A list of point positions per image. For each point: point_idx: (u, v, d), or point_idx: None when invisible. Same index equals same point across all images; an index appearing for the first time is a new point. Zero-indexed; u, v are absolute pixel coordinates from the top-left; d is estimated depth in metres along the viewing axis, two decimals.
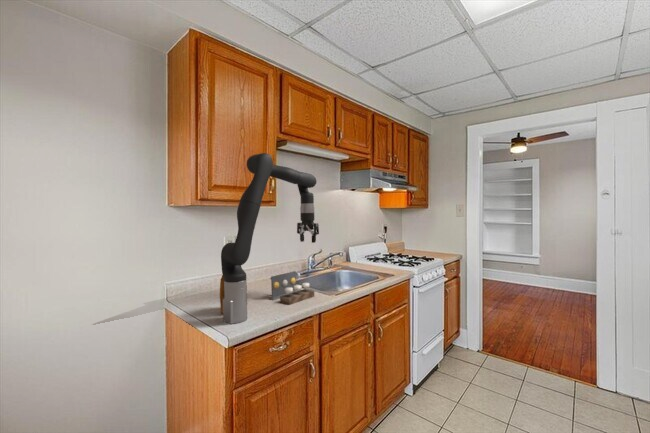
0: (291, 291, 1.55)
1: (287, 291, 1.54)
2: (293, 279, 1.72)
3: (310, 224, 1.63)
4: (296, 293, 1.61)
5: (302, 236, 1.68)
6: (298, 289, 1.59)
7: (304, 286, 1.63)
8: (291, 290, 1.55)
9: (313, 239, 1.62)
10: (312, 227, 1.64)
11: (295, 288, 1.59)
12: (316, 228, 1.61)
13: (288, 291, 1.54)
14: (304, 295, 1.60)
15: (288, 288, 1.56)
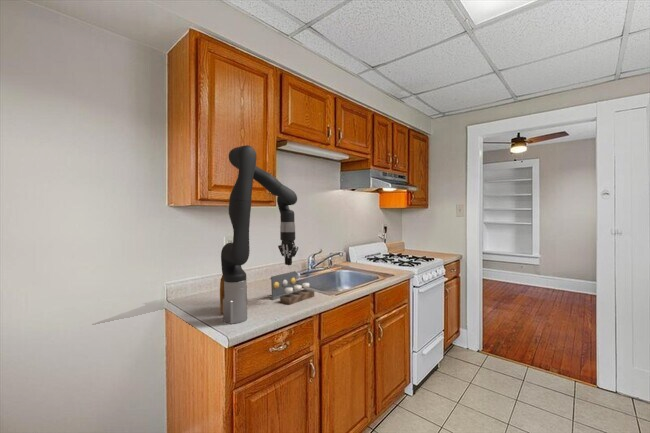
0: (291, 291, 1.55)
1: (287, 291, 1.54)
2: (293, 279, 1.72)
3: (290, 244, 1.53)
4: (296, 293, 1.61)
5: None
6: (298, 289, 1.59)
7: (304, 286, 1.63)
8: (291, 290, 1.55)
9: (289, 262, 1.54)
10: (291, 249, 1.54)
11: (295, 288, 1.59)
12: (294, 252, 1.52)
13: (288, 291, 1.54)
14: (304, 295, 1.60)
15: (288, 288, 1.56)
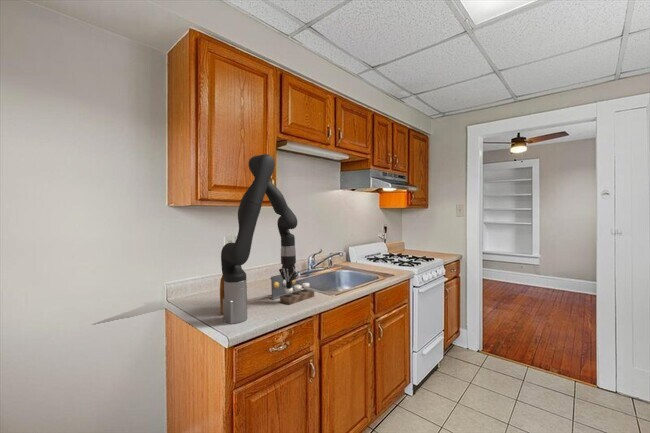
0: (291, 291, 1.55)
1: (287, 291, 1.54)
2: None
3: (291, 268, 1.53)
4: (296, 293, 1.61)
5: None
6: (298, 289, 1.59)
7: (304, 286, 1.63)
8: (291, 291, 1.55)
9: (289, 285, 1.55)
10: None
11: (295, 288, 1.59)
12: (294, 276, 1.53)
13: (288, 291, 1.54)
14: (304, 295, 1.60)
15: None
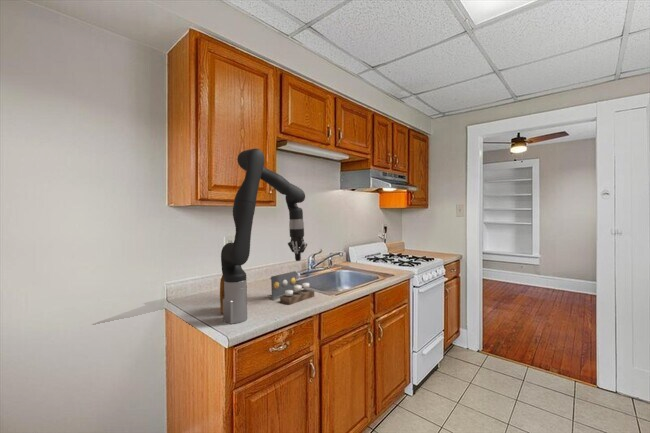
0: (291, 294, 1.55)
1: (287, 294, 1.54)
2: (293, 279, 1.72)
3: (300, 241, 1.57)
4: (296, 293, 1.61)
5: None
6: (298, 289, 1.59)
7: (304, 286, 1.63)
8: (291, 293, 1.55)
9: (298, 257, 1.60)
10: None
11: (295, 288, 1.59)
12: (303, 248, 1.57)
13: (288, 294, 1.54)
14: (304, 295, 1.60)
15: (288, 291, 1.56)
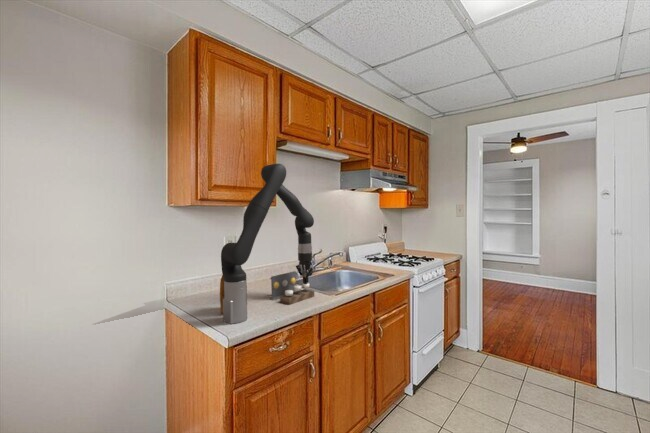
0: (291, 294, 1.55)
1: (287, 294, 1.54)
2: (293, 279, 1.72)
3: (308, 264, 1.62)
4: (296, 293, 1.61)
5: None
6: (298, 289, 1.59)
7: (304, 286, 1.63)
8: (291, 293, 1.55)
9: (306, 280, 1.64)
10: None
11: (295, 288, 1.59)
12: (311, 272, 1.62)
13: (288, 294, 1.54)
14: (304, 295, 1.60)
15: (288, 291, 1.56)
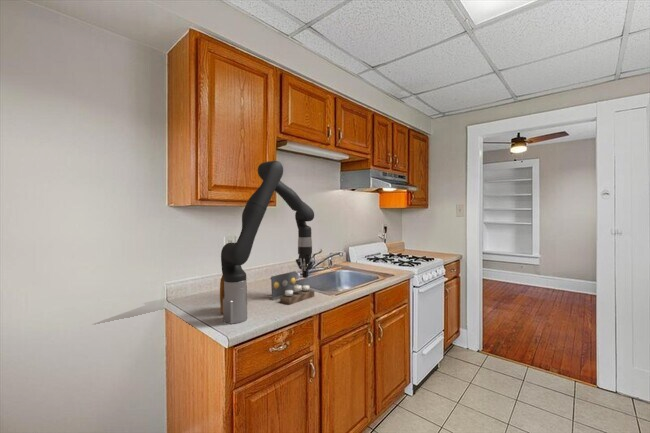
0: (291, 294, 1.55)
1: (287, 294, 1.54)
2: (293, 279, 1.72)
3: (307, 258, 1.62)
4: (296, 293, 1.61)
5: None
6: (298, 289, 1.59)
7: (304, 288, 1.63)
8: (291, 293, 1.55)
9: (305, 274, 1.64)
10: None
11: (295, 288, 1.59)
12: (310, 266, 1.61)
13: (288, 294, 1.54)
14: (304, 295, 1.60)
15: (288, 291, 1.56)
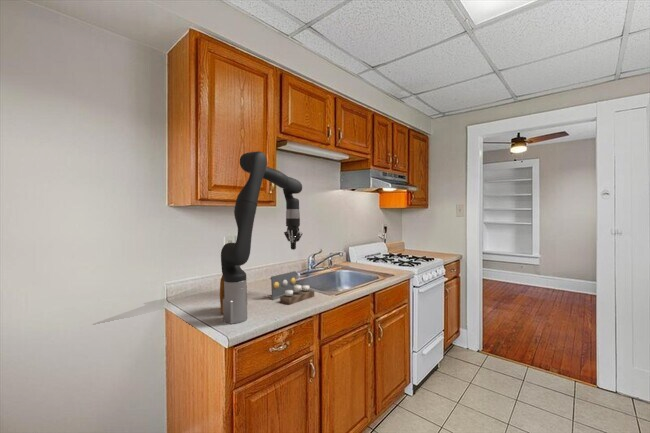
0: (291, 294, 1.55)
1: (287, 294, 1.54)
2: (293, 279, 1.72)
3: (295, 230, 1.64)
4: (296, 293, 1.61)
5: None
6: (298, 289, 1.59)
7: (304, 288, 1.63)
8: (291, 293, 1.55)
9: (293, 246, 1.66)
10: None
11: (295, 288, 1.59)
12: (298, 237, 1.64)
13: (288, 294, 1.54)
14: (304, 295, 1.60)
15: (288, 291, 1.56)
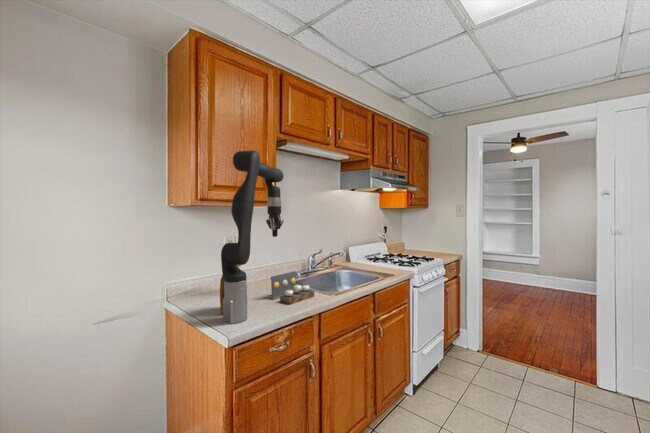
0: (291, 294, 1.55)
1: (287, 294, 1.54)
2: (293, 279, 1.72)
3: (276, 217, 1.68)
4: (296, 293, 1.61)
5: None
6: (298, 289, 1.59)
7: (304, 288, 1.63)
8: (291, 293, 1.55)
9: (275, 233, 1.70)
10: None
11: (295, 288, 1.59)
12: (279, 225, 1.68)
13: (288, 294, 1.54)
14: (304, 295, 1.60)
15: (288, 291, 1.56)
